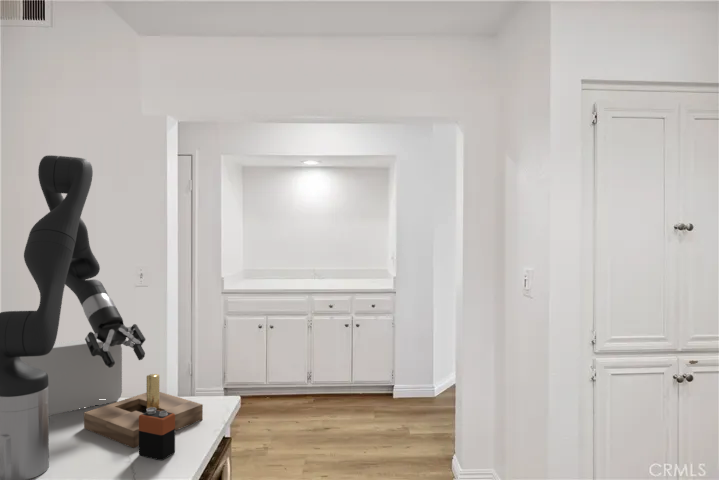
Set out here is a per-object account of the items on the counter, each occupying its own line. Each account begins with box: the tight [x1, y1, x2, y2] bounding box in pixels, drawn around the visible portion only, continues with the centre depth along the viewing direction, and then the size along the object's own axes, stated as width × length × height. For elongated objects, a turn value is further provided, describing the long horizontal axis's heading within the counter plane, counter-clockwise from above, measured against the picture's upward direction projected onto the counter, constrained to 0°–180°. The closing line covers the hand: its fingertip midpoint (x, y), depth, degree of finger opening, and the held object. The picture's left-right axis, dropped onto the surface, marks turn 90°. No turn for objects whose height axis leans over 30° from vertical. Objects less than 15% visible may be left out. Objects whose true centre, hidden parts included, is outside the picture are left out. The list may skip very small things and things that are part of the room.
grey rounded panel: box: [20, 339, 123, 416], centre depth 137 cm, size 29×8×18 cm, turn 129°
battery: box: [138, 407, 176, 461], centre depth 111 cm, size 4×7×10 cm, turn 69°
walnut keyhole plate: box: [83, 391, 204, 449], centre depth 127 cm, size 20×20×4 cm
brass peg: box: [146, 373, 160, 410], centre depth 125 cm, size 5×5×13 cm
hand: (127, 361), depth 131 cm, fingers open, 8 cm apart
